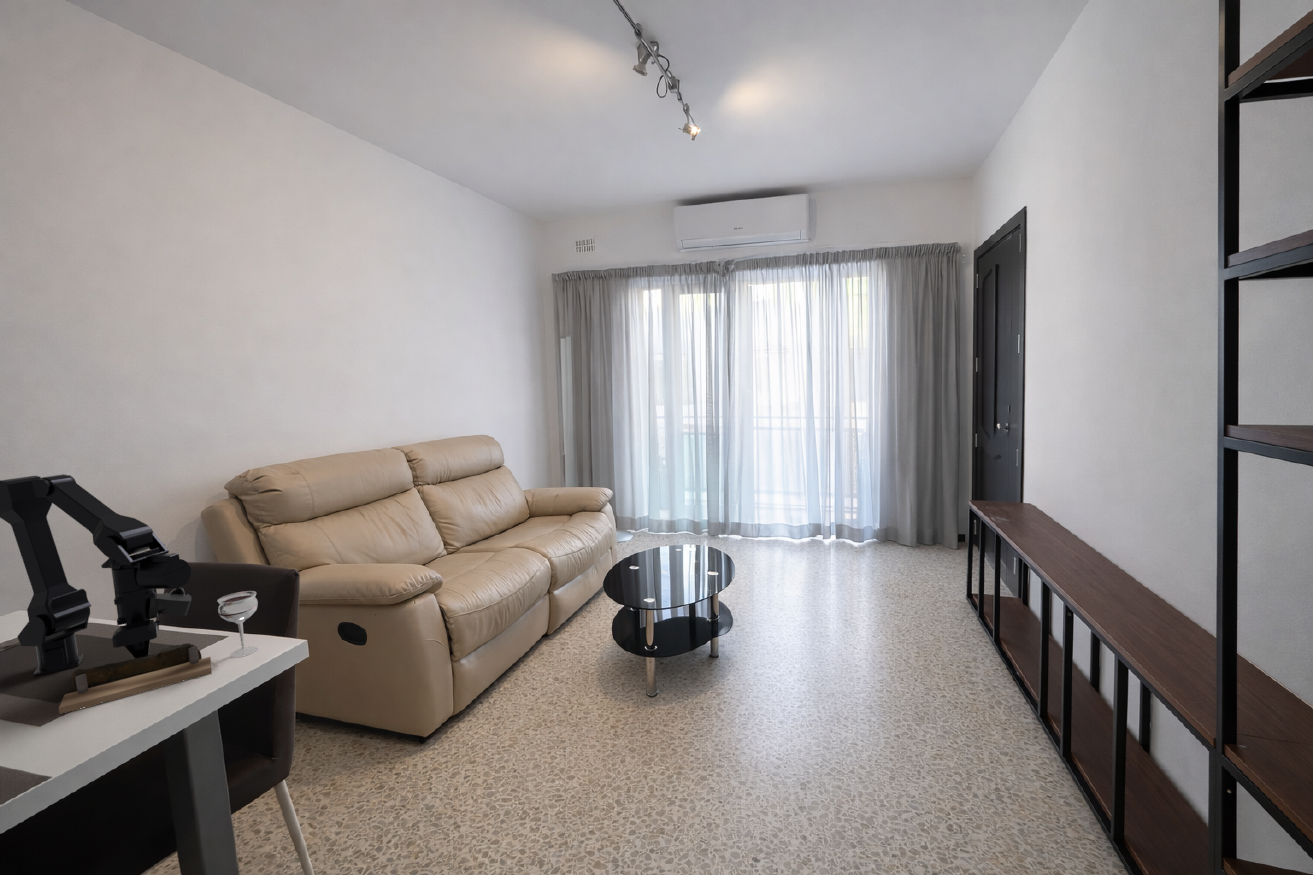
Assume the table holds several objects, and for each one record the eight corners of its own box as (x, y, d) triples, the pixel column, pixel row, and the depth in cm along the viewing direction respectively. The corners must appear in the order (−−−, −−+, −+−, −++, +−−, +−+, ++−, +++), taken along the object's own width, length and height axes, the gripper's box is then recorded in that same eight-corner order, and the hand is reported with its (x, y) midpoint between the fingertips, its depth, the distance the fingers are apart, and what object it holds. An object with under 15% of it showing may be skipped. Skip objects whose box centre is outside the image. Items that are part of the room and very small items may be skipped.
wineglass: (260, 654, 121) (253, 598, 120) (220, 662, 118) (213, 605, 117) (265, 641, 127) (259, 588, 126) (227, 649, 124) (221, 594, 123)
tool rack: (65, 700, 105) (62, 678, 105) (211, 662, 118) (208, 642, 118) (59, 714, 101) (56, 691, 100) (211, 673, 113) (209, 652, 113)
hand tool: (71, 695, 108) (67, 671, 107) (80, 686, 111) (76, 662, 111) (198, 668, 116) (195, 646, 116) (203, 660, 120) (200, 638, 119)
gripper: (185, 589, 113) (194, 666, 115) (186, 568, 128) (195, 636, 129) (107, 605, 106) (118, 686, 108) (118, 580, 121) (128, 652, 122)
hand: (144, 663), depth 117 cm, fingers closed
